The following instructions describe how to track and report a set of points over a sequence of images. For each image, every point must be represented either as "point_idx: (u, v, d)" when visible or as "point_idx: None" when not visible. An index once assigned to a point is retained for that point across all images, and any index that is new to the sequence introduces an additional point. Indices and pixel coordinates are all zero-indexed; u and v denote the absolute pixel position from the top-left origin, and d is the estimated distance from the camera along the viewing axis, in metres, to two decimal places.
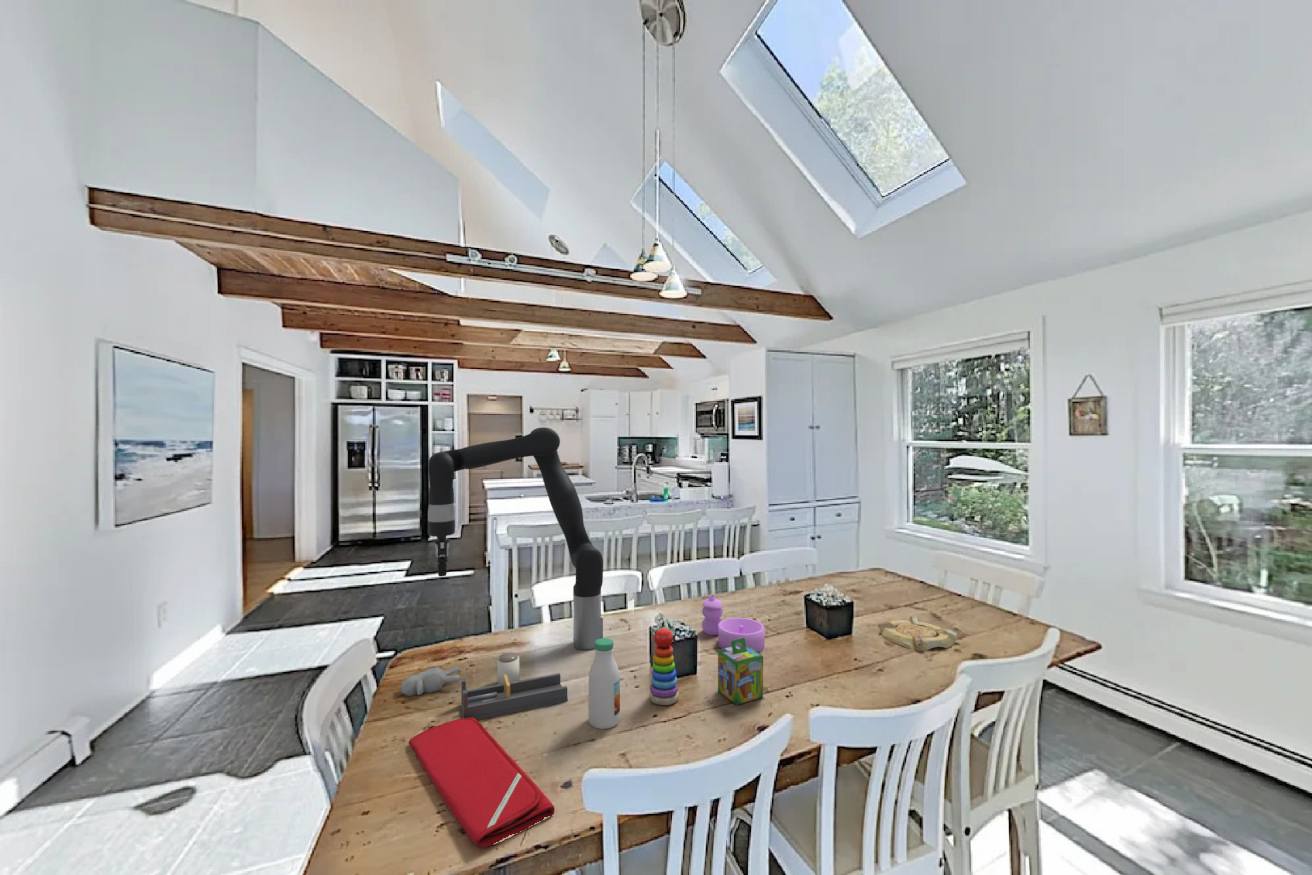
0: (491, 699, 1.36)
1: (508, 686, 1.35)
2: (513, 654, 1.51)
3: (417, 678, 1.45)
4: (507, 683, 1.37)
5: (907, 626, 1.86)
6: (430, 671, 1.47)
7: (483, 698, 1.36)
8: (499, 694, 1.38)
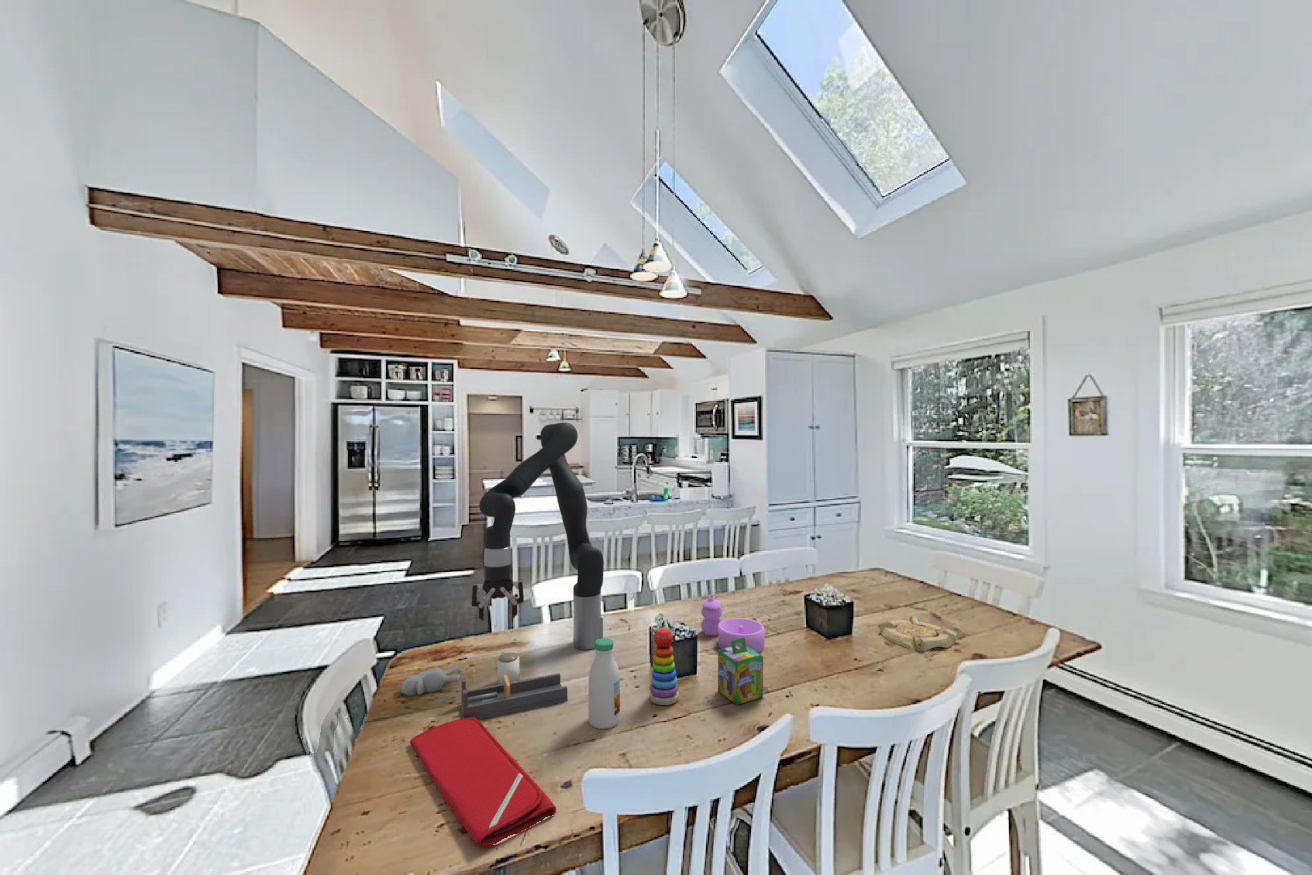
0: (491, 699, 1.36)
1: (508, 686, 1.35)
2: (513, 654, 1.51)
3: (417, 678, 1.45)
4: (507, 683, 1.37)
5: (907, 626, 1.86)
6: (430, 671, 1.47)
7: (483, 698, 1.36)
8: (499, 694, 1.38)
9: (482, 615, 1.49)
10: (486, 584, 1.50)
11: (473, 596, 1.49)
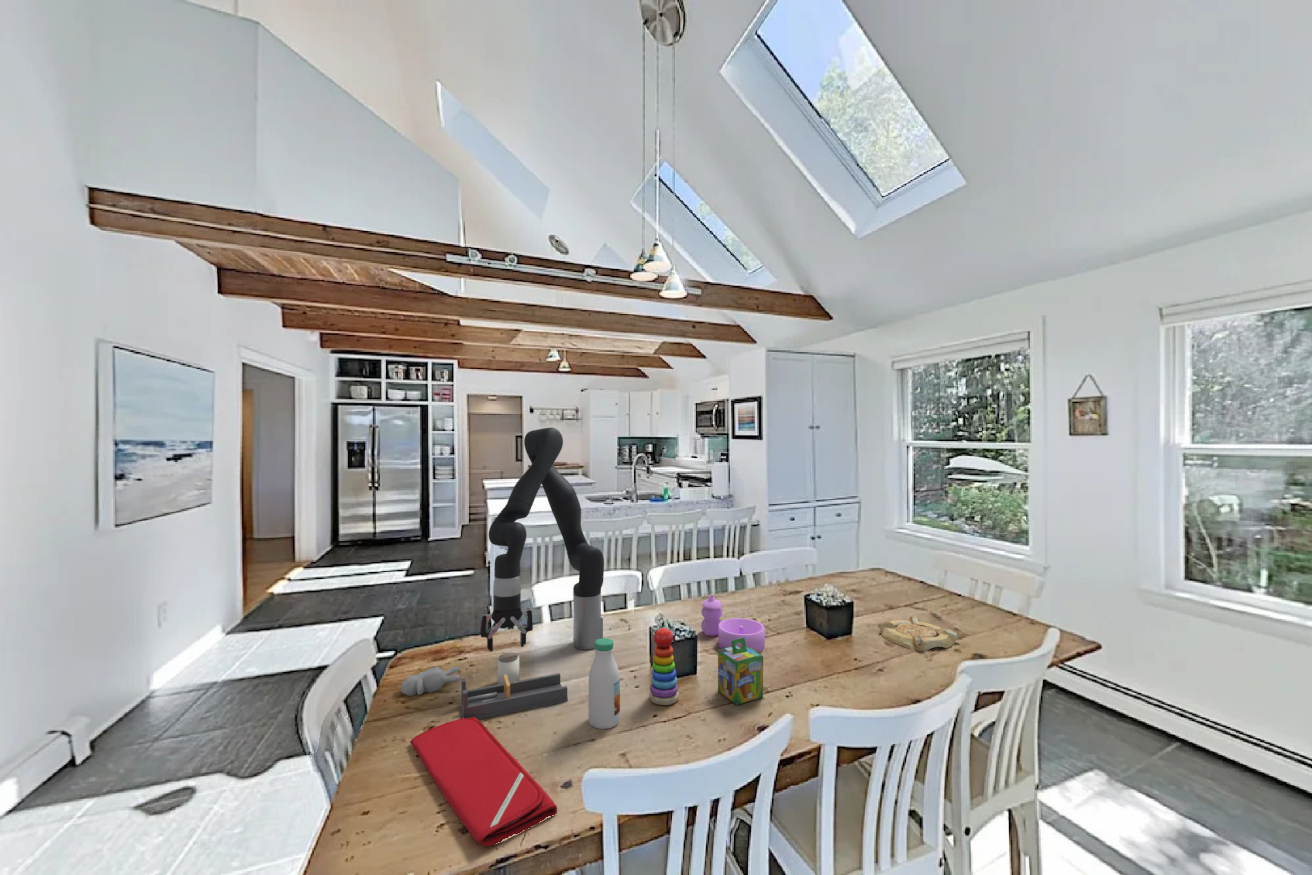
0: (491, 699, 1.36)
1: (508, 686, 1.35)
2: (513, 654, 1.51)
3: (417, 678, 1.45)
4: (507, 683, 1.37)
5: (907, 626, 1.86)
6: (430, 671, 1.47)
7: (483, 698, 1.36)
8: (499, 694, 1.38)
9: (491, 646, 1.48)
10: (496, 614, 1.48)
11: (482, 627, 1.47)
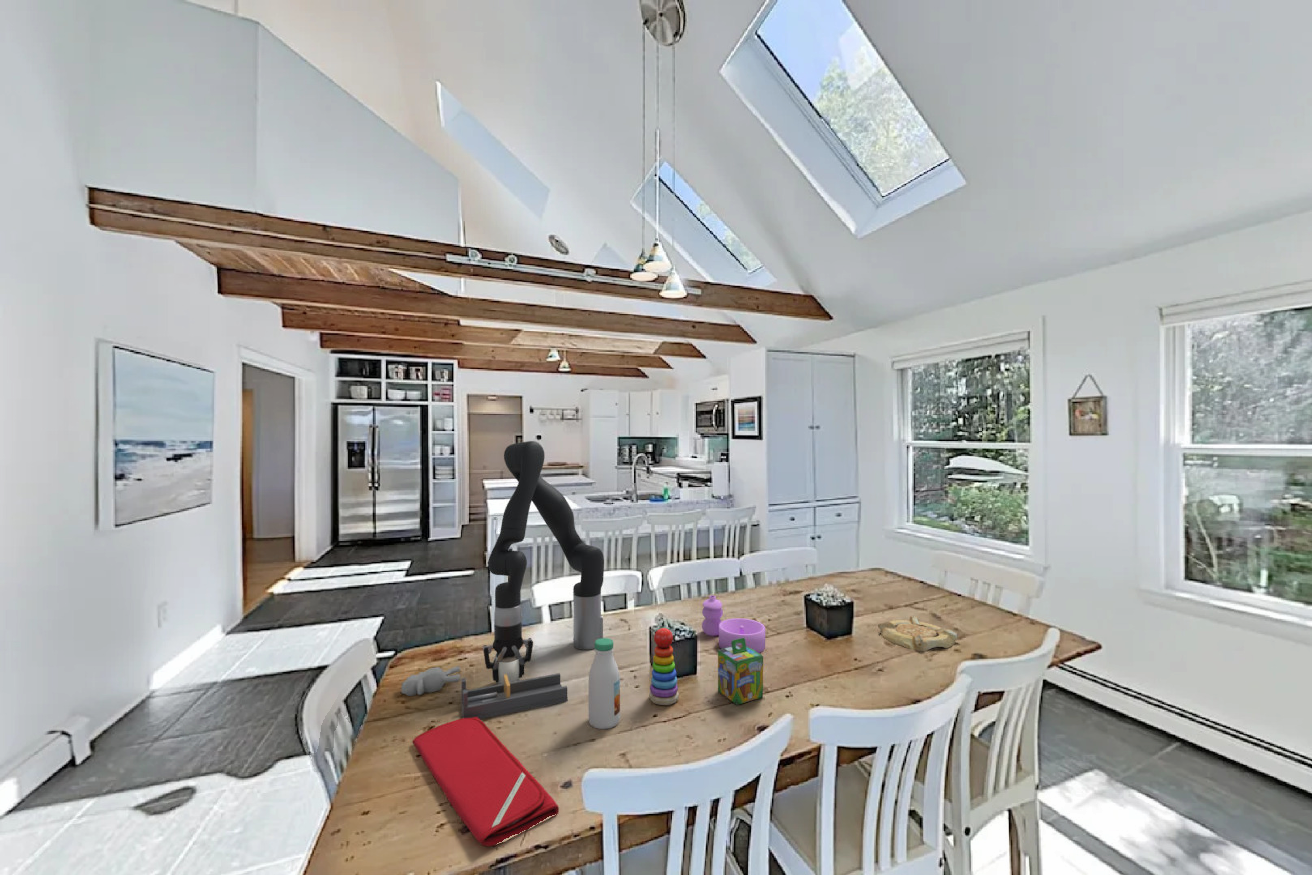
0: (491, 699, 1.36)
1: (508, 686, 1.35)
2: None
3: (417, 678, 1.45)
4: (507, 683, 1.37)
5: (907, 626, 1.86)
6: (430, 671, 1.47)
7: (483, 698, 1.36)
8: (499, 694, 1.38)
9: (496, 677, 1.48)
10: (496, 644, 1.48)
11: (486, 659, 1.47)
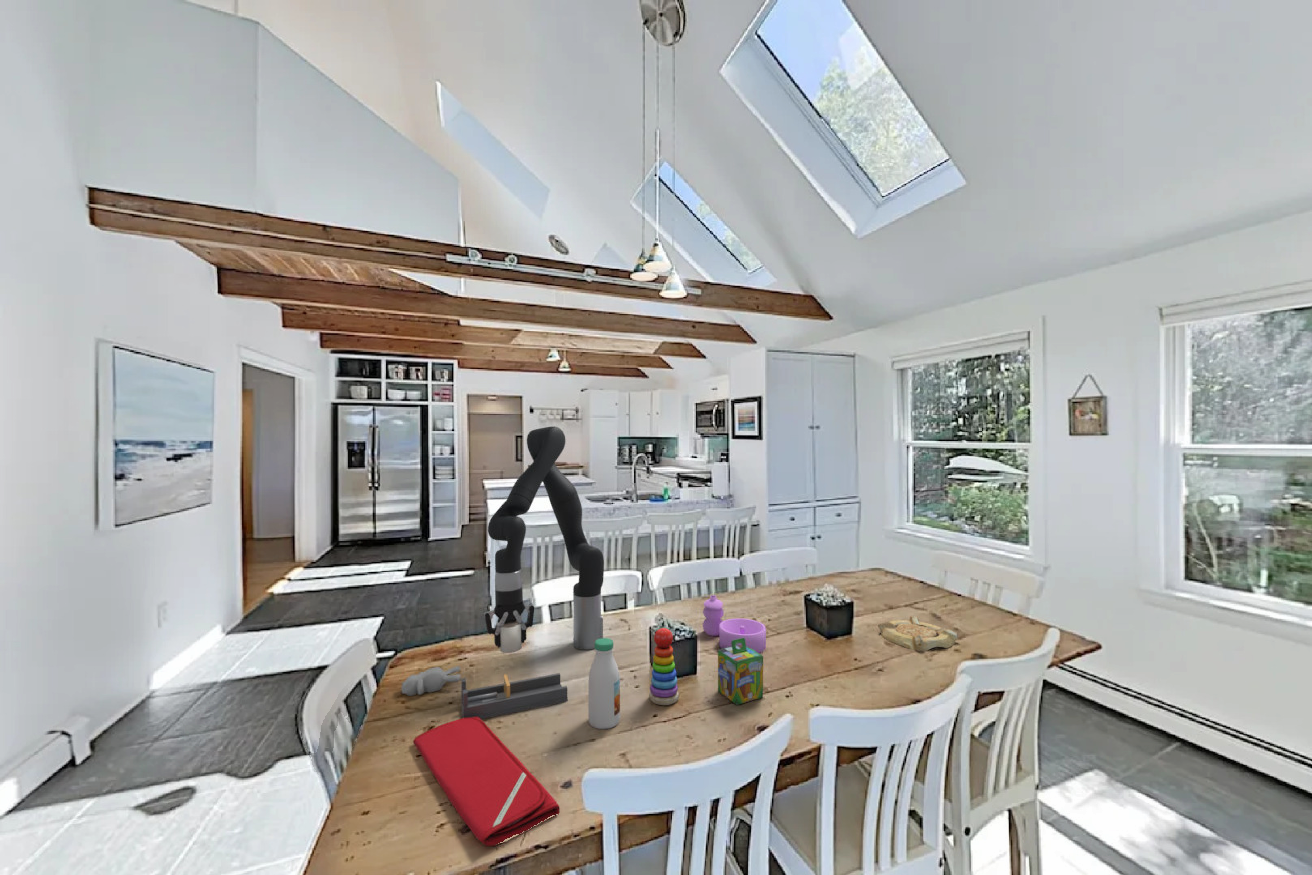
0: (491, 699, 1.36)
1: (508, 686, 1.35)
2: None
3: (418, 678, 1.45)
4: (507, 683, 1.37)
5: (907, 626, 1.86)
6: (431, 671, 1.47)
7: (483, 698, 1.36)
8: (499, 694, 1.38)
9: (499, 642, 1.48)
10: (498, 609, 1.47)
11: (488, 624, 1.46)
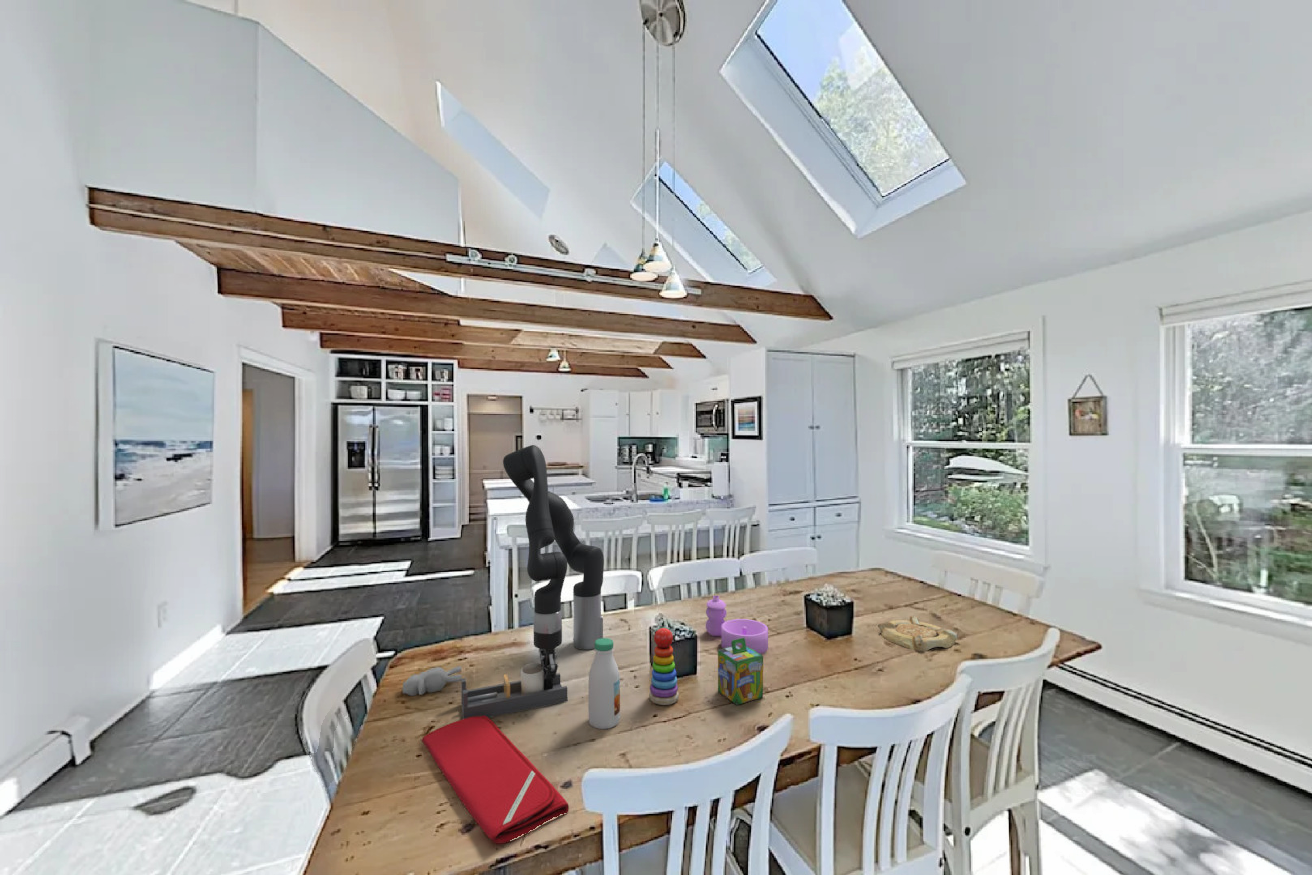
0: (491, 699, 1.36)
1: (508, 686, 1.35)
2: (537, 665, 1.42)
3: (419, 678, 1.45)
4: (507, 683, 1.37)
5: (907, 626, 1.86)
6: (432, 671, 1.47)
7: (483, 698, 1.36)
8: (499, 694, 1.38)
9: None
10: (555, 653, 1.40)
11: (555, 671, 1.39)
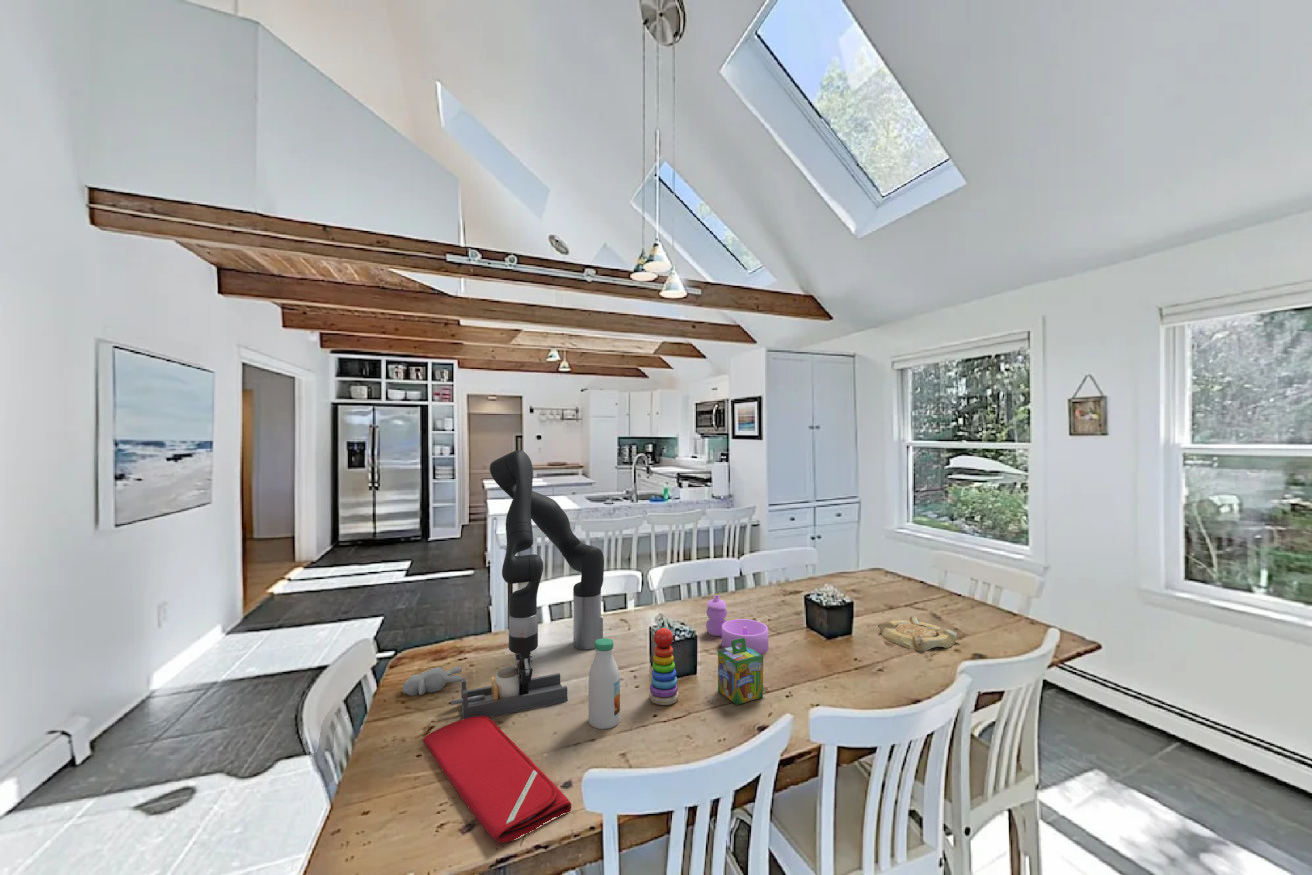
0: (478, 702, 1.35)
1: (495, 688, 1.34)
2: (513, 669, 1.40)
3: (419, 678, 1.45)
4: (494, 685, 1.35)
5: (907, 626, 1.86)
6: (432, 671, 1.47)
7: (470, 701, 1.34)
8: (487, 696, 1.37)
9: None
10: (530, 657, 1.37)
11: (531, 676, 1.37)
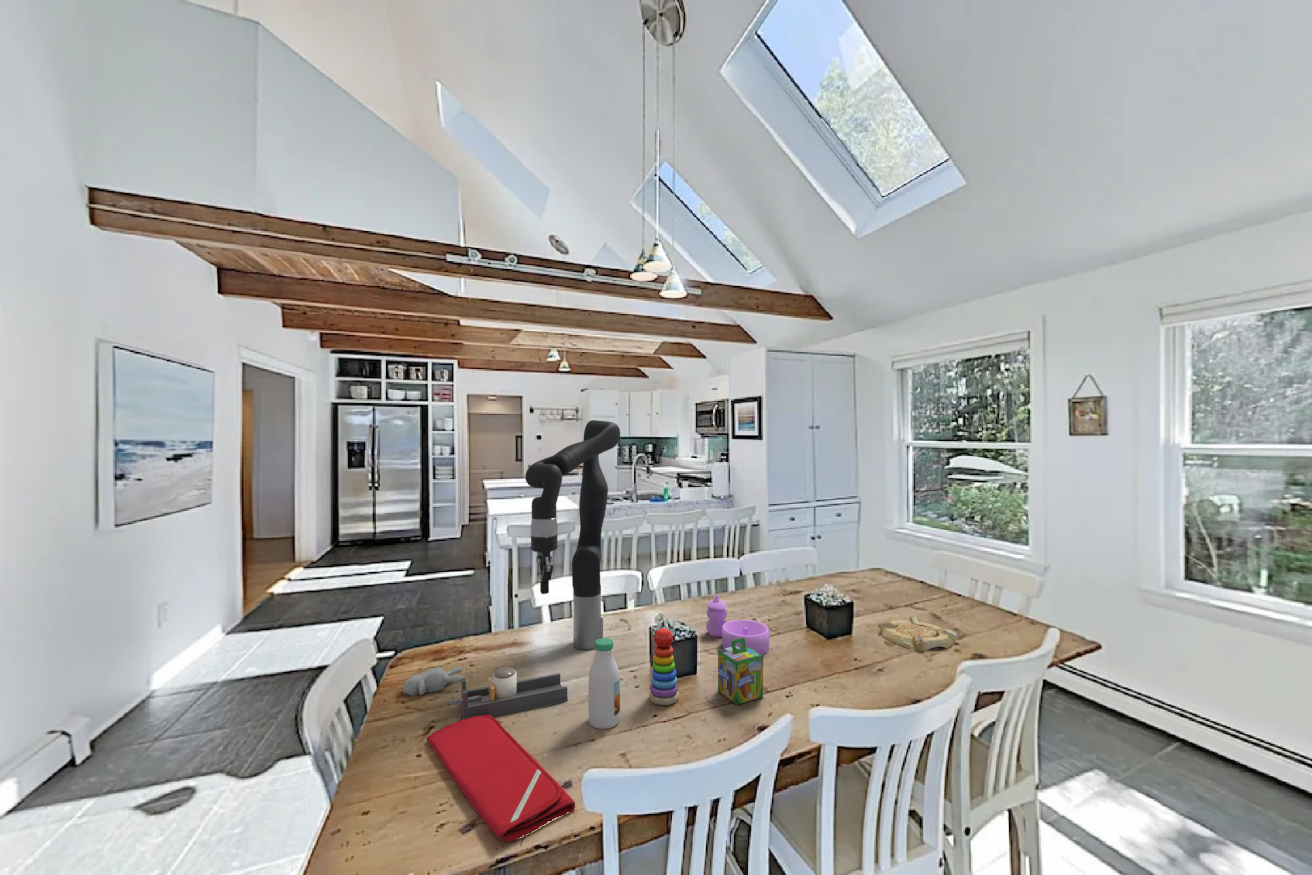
0: (475, 702, 1.34)
1: (492, 689, 1.34)
2: (510, 669, 1.40)
3: (419, 678, 1.45)
4: (491, 686, 1.35)
5: (907, 626, 1.86)
6: (432, 671, 1.47)
7: None
8: (484, 697, 1.37)
9: None
10: (550, 556, 1.49)
11: (551, 573, 1.49)
